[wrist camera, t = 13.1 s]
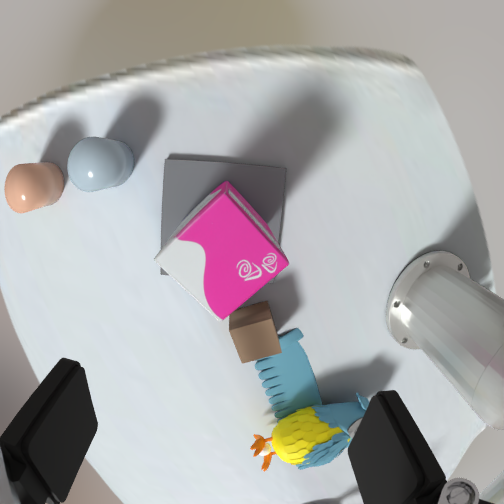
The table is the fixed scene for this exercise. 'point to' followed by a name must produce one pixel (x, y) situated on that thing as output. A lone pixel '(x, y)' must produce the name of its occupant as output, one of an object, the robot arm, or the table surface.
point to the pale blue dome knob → (99, 164)
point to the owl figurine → (303, 411)
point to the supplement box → (222, 252)
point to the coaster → (209, 178)
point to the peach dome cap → (33, 186)
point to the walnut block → (254, 332)
